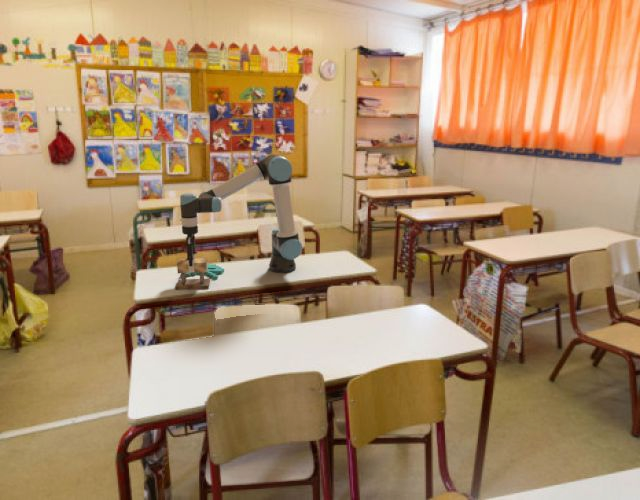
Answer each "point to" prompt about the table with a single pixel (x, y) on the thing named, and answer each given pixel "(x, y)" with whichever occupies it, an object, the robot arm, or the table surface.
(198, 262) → the light brown wooden block
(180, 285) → the peg stand
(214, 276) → the alien figure
